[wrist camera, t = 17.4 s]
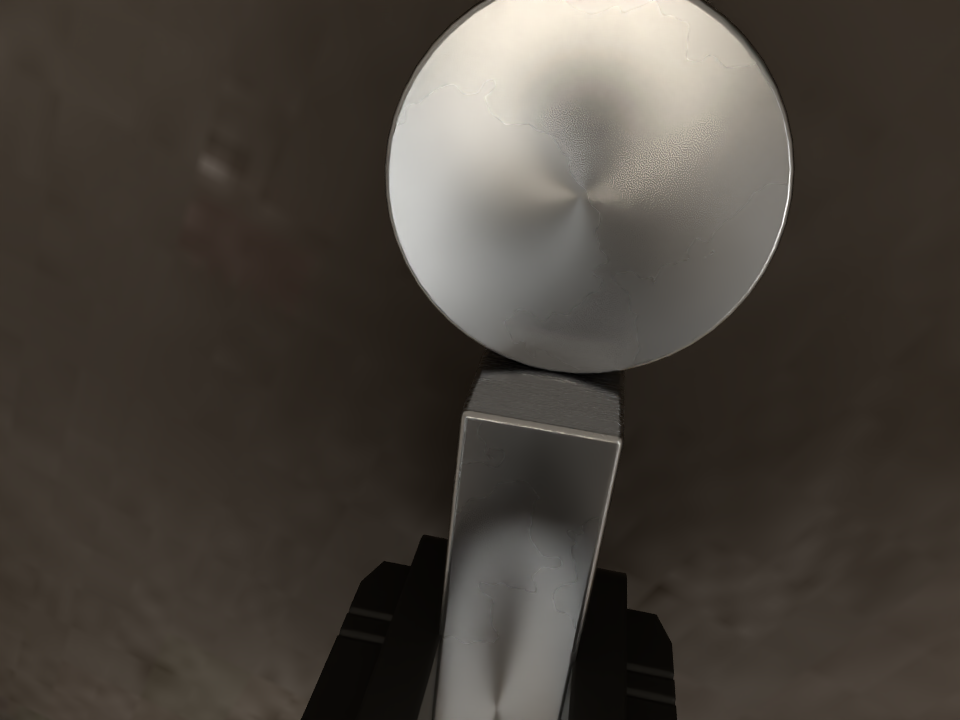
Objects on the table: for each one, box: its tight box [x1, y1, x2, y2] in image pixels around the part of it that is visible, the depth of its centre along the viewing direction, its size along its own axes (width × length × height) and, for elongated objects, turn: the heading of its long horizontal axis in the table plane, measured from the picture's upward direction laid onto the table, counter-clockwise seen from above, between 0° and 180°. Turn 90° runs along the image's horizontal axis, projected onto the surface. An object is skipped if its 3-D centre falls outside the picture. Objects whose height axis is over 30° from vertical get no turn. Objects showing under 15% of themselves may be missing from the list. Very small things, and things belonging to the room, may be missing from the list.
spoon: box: [385, 0, 795, 720], centre depth 10 cm, size 13×4×2 cm, turn 174°
